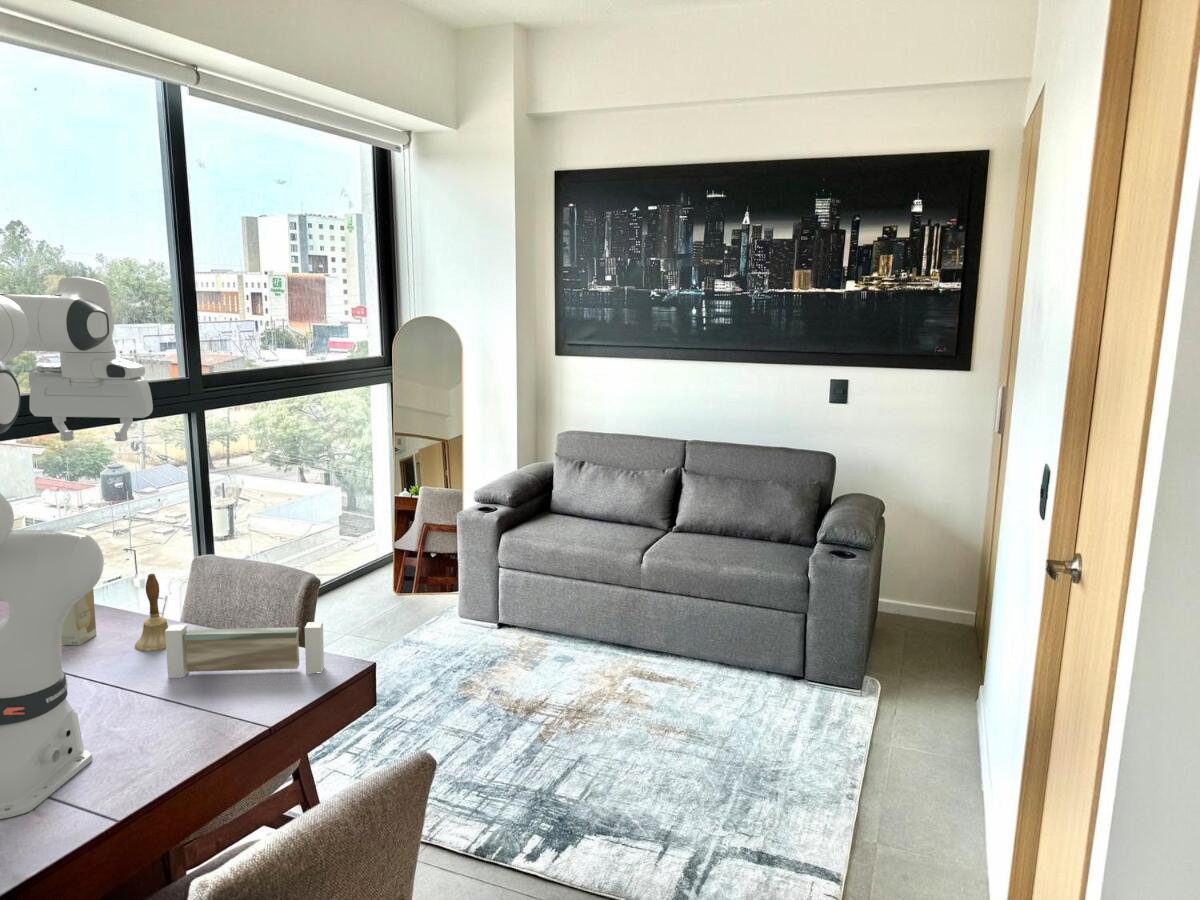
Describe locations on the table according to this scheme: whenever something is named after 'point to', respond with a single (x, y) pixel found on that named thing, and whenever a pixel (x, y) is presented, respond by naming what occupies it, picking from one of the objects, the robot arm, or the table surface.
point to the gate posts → (179, 660)
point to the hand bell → (153, 621)
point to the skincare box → (80, 621)
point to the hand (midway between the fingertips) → (94, 440)
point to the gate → (242, 649)
